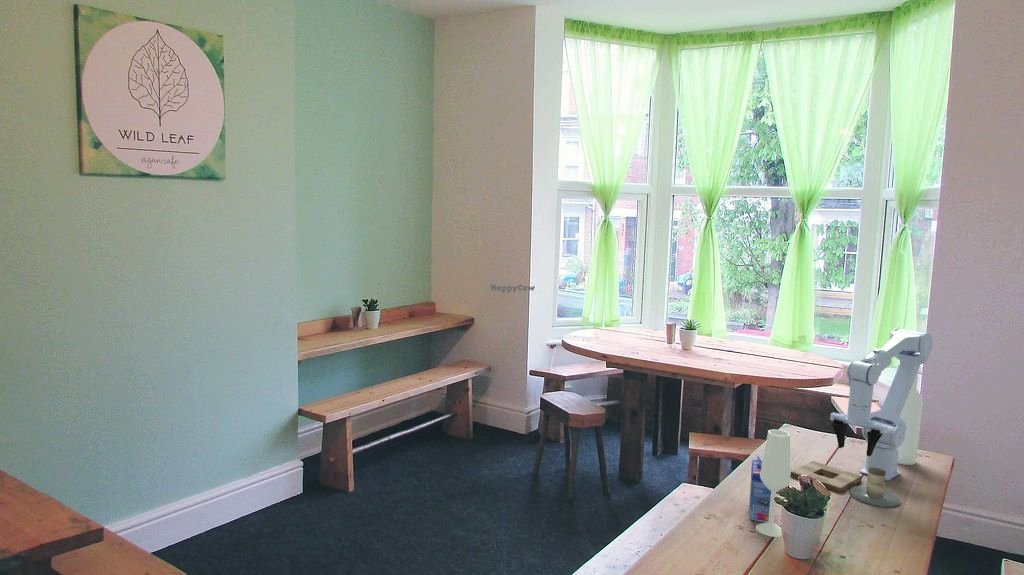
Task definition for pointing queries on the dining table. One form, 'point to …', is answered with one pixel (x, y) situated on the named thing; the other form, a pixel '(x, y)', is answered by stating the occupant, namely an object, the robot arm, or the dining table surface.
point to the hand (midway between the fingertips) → (854, 451)
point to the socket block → (837, 483)
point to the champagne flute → (775, 474)
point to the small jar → (875, 482)
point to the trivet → (886, 501)
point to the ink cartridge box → (758, 494)
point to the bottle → (911, 426)
